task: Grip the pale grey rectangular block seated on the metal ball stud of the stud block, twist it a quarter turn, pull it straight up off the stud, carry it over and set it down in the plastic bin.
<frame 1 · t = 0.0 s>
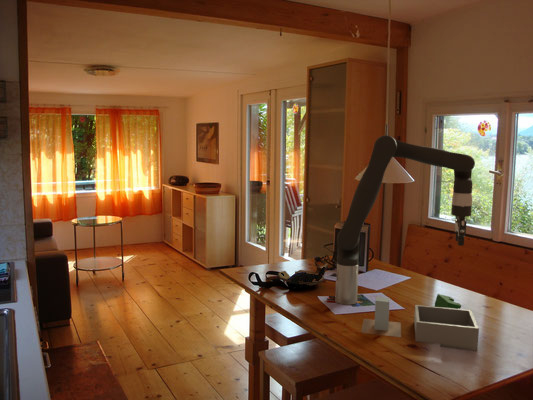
hand: (459, 243, 191), 29 cm above the table, tool pointing down, fingers open, 8 cm apart
clamp: (447, 312, 195), on the table
bin: (443, 337, 170), on the table
pale grey rectangular block: (381, 327, 176), point 1 cm above the table, touching stud block
oil lamp: (306, 284, 232), on the table
stud block: (381, 330, 176), on the table
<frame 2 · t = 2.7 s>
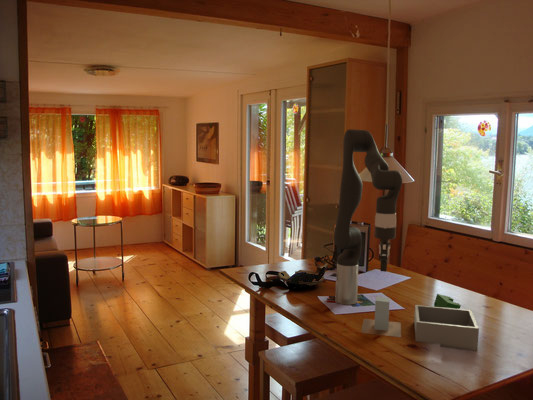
hand: (383, 268, 173), 24 cm above the table, tool pointing down, fingers open, 8 cm apart
nothing on the table moved.
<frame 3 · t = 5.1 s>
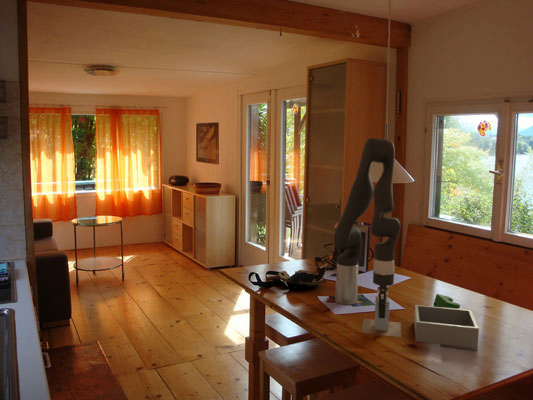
hand: (381, 314, 175), 6 cm above the table, tool pointing down, fingers closed on pale grey rectangular block, 5 cm apart
pale grey rectangular block: (381, 327, 176), point 1 cm above the table, touching gripper, stud block
everything else where it was.
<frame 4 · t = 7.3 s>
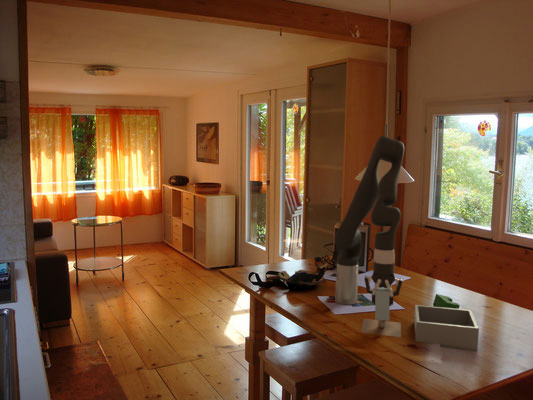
hand: (382, 304, 174), 10 cm above the table, tool pointing down, fingers closed on pale grey rectangular block, 5 cm apart
pale grey rectangular block: (382, 317, 175), point 5 cm above the table, touching gripper
everything else where it was.
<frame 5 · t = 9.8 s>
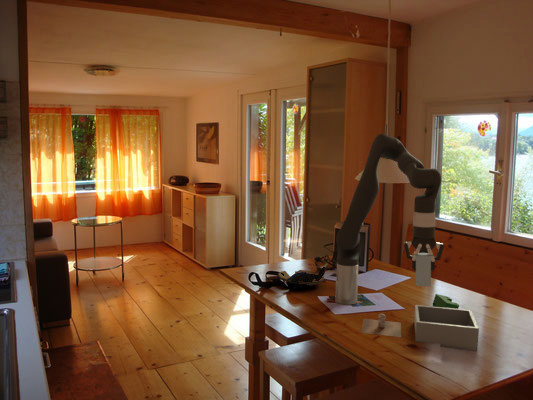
hand: (422, 270, 169), 24 cm above the table, tool pointing down, fingers closed on pale grey rectangular block, 5 cm apart
pale grey rectangular block: (423, 284, 169), point 19 cm above the table, touching gripper
everything else where it was.
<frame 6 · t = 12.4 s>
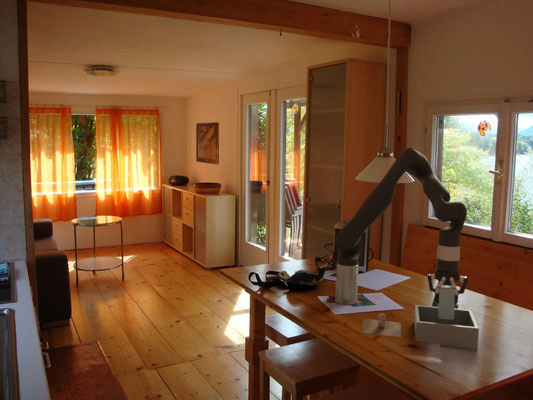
hand: (445, 303, 168), 13 cm above the table, tool pointing down, fingers closed on pale grey rectangular block, 5 cm apart
pale grey rectangular block: (445, 316, 169), point 8 cm above the table, touching gripper
when the fingers open (7 cm above the table, at t = 14.4 s): pale grey rectangular block drops 1 cm, resting on bin.
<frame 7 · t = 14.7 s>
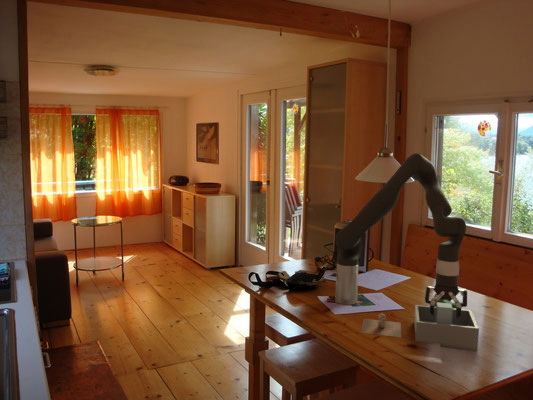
hand: (444, 315, 169), 8 cm above the table, tool pointing down, fingers open, 8 cm apart
pale grey rectangular block: (442, 334, 170), point 1 cm above the table, touching bin
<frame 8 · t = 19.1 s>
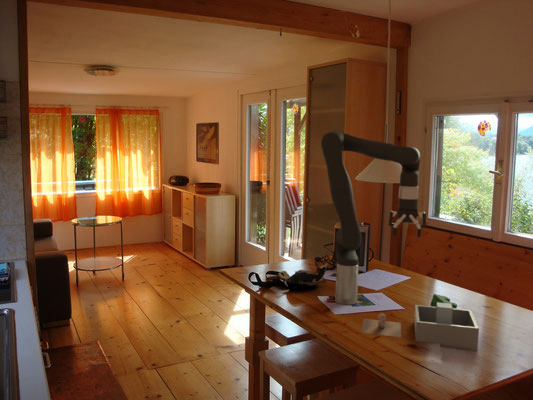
hand: (406, 237, 189), 32 cm above the table, tool pointing down, fingers open, 8 cm apart
at the end: pale grey rectangular block inside the target area on the bin (0.4 cm from its centre), point 1.0 cm above the bin's base; the gripper is holding nothing; pale grey rectangular block moved 21.7 cm from its start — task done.
